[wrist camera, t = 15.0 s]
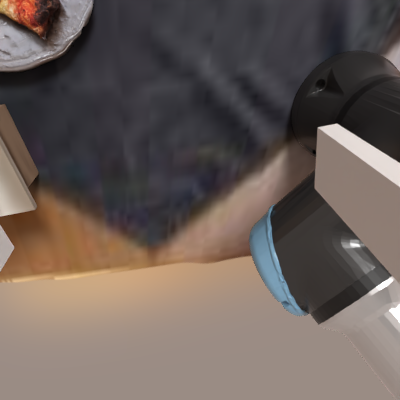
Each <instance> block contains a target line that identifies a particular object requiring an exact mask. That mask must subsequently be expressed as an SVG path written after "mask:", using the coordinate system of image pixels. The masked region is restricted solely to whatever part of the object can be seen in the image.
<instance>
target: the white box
mask: <svg viewBox="0 0 400 400" xmlns="http://www.w3.org/2000/svg"><path fill="white" fill-rule="evenodd" d="M38 174H39V172H38V170H37V168H36V166H35V164H34V162H33V160H32V158H31V156H30V154H29V152H28V150H27V148H26V146H25V144H24V142H23V140H22V138H21V136H20V134H19V132H18V130H17V128H16V126H15V124H14V122H13V120H12V118H11V116H10V114H9V112H8V110H7V108H6V106H5V104H3V105H0V217H1V216H6V215H11V214H16V213H21V212H26V211H31V210H35V209H36V208H37V205H36V203H35V201H34V199H33V197H32V195H31V194H30V192H29V190H28V187H29V186H30V185H31V183H32V182H33V180H34V179H35V178H36V176H37V175H38Z"/></svg>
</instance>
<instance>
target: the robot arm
mask: <svg viewBox="0 0 400 400" xmlns="http://www.w3.org/2000/svg"><path fill="white" fill-rule="evenodd" d="M292 128H293V132H294V134H295V137H296V139H297V140H298V142H299V143H300V144H301V145H302V146H303V147H304V148H305V149H306V150H307V151H308V152H309V153H310V154H312V155H313V156H315V157H316V168H315V170H314V171H313V172H312V173H311V174H310V175H309V176H307V177H306V178H305V179H304V180H303V181H302V182H301V183H300V184H298V185H297V186H296V187H295V188H294V189H293V190H292V191H291V192H289V193H288V194H287V195H286V196H285V197H284V198H283V199H281V200H280V201H279V202H278V203H277V204H274V205H272V206H271V207H270V208H269V210H268V212H267V213H266V214H265V215H264V216H263V217H262V218H261V219H260V220H259V221H258V222H257V223H256V224H255V225H254V226H253V228H252V229H251V232H250V236H249V242H250V251H251V255H252V258H253V261H254V264H255V266H256V268H257V270H258V272H259V274H260V276H261V278H262V280H263V281H264V283H265V285H266V286H267V288H268V289H269V291H270V292H271V294H272V295H273V296H274V297H275V299H276V300H277V301H278V302H281V303H282V305H283V307H284V308H285V309H286V310H287V311H288V312H290V313H291V314H294V315H297V316H302V315H304V316H305V315H308V314H309V313H310V314H311V315H312V316H313V318H314V319H315V321H316V322H317V323H318V325H319V326H320V327H321V328H325V329H330V330H334V331H338V332H341V333H342V334H344V335H345V336H346V337H347V338H348V340H349V341H350V342H351V344H352V345H353V346H354V347H355V349H356V350H357V351H358V353H359V354H360V355H361V356H362V358H363V359H364V360H365V361H366V363H367V364H368V365H369V367H370V368H371V369H372V370H373V372H374V373H375V374H376V376H377V377H378V378H379V379H380V381H381V382H382V383H383V384H384V386H385V387H386V388H387V390H388V391H389V392H390V393H391V395H392V396H393V397H394V398H395V400H400V72H399V71H398V70H397V68H396V67H395V66H394V65H393V63H392V62H390V61H389V60H388V59H386V58H384V57H383V56H380V55H378V54H375V53H370V52H365V51H348V52H343V53H340V54H337V55H335V56H333V57H331V58H329V59H327V60H326V61H324V62H323V63H321V64H320V65H319V66H317V67H316V68H315V69H314V70H313V71H312V72H311V73H310V74H309V75H308V77H307V78H306V79H305V81H304V82H303V84H302V85H301V87H300V89H299V91H298V93H297V95H296V97H295V100H294V104H293V108H292ZM13 249H14V246H13V244H12V243H11V241H10V240H9V238H8V237H7V235H6V233H5V232H4V230H3V229H2V227H1V226H0V271H1V269H2V268H3V266H4V264H5V263H6V261H7V259H8V258H9V256H10V254H11V253H12V251H13Z"/></svg>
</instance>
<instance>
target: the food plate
mask: <svg viewBox="0 0 400 400" xmlns="http://www.w3.org/2000/svg"><path fill="white" fill-rule="evenodd" d="M92 4H93V0H0V72H7V73H13V72H17V73H19V72H20V73H21V72H25V71H27V70H32V69H34V68H37V67H38V66H40V65H43V64H45V63H48V62H50V61H52V60H56V59H59V58H61V57H62V56H63V55H64V54H65V53H67V51H69V49H70V48H71V47H72V46H74V45H71V43H72V42H74V41H75V40H76V39H77V38H78V37H79V36H80V35H81V30H82V28H83V27H84V26H86V25H87V24H88V21H89V18H90V15H91V12H92V8H93V5H92Z"/></svg>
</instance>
